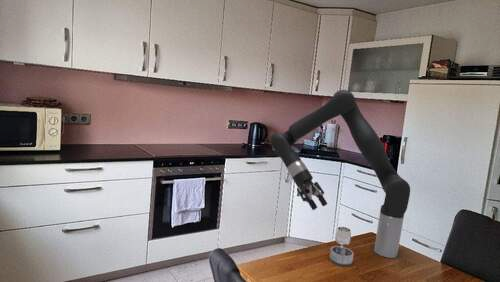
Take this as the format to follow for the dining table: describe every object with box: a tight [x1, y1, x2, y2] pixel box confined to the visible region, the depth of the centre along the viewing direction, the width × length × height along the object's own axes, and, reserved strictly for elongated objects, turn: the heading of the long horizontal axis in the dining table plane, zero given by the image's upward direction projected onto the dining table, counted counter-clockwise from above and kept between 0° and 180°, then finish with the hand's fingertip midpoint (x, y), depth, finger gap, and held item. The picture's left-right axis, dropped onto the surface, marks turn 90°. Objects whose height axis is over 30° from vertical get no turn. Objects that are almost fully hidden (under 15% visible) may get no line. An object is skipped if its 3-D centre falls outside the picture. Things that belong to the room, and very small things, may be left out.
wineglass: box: [334, 226, 352, 255], centre depth 132 cm, size 6×6×12 cm
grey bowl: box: [329, 245, 355, 267], centre depth 132 cm, size 9×9×4 cm
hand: (320, 207), depth 137 cm, fingers open, 8 cm apart
